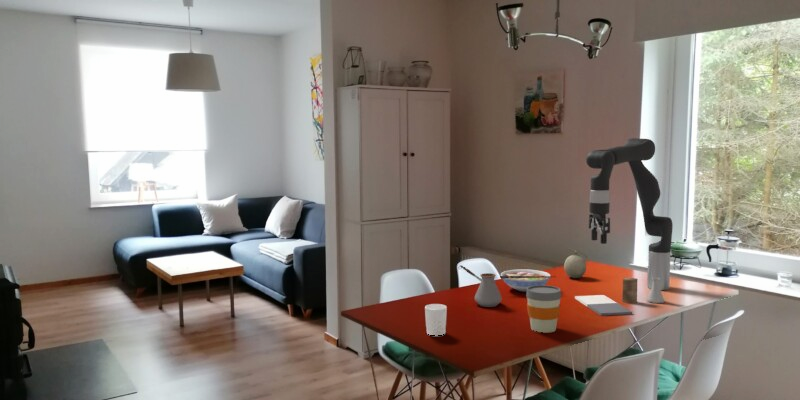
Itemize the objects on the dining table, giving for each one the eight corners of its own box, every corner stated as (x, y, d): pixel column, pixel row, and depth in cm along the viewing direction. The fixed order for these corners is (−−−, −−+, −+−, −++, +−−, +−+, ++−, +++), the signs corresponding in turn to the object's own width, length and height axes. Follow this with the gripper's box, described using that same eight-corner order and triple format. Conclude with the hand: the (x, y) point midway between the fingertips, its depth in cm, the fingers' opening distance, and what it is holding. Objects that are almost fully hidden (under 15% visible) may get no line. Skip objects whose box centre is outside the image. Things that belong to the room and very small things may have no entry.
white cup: (424, 330, 224) (423, 304, 223) (445, 329, 224) (444, 303, 223) (426, 337, 216) (426, 310, 215) (448, 336, 216) (448, 309, 215)
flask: (666, 304, 253) (667, 280, 252) (648, 303, 254) (648, 280, 253) (662, 299, 260) (663, 276, 259) (644, 298, 261) (645, 276, 260)
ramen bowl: (547, 283, 291) (547, 267, 290) (558, 296, 268) (558, 278, 267) (495, 284, 291) (495, 267, 291) (501, 296, 269) (501, 278, 268)
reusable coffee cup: (537, 321, 232) (537, 283, 230) (567, 328, 223) (567, 288, 222) (519, 329, 223) (519, 289, 221) (549, 336, 214) (550, 295, 213)
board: (574, 298, 263) (574, 296, 263) (603, 297, 265) (603, 294, 265) (600, 315, 238) (600, 313, 238) (632, 314, 239) (632, 311, 239)
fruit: (590, 280, 296) (591, 250, 295) (567, 280, 297) (567, 250, 295) (584, 275, 307) (584, 246, 305) (561, 275, 307) (561, 246, 305)
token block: (622, 302, 257) (622, 279, 256) (626, 300, 260) (627, 277, 259) (632, 303, 254) (633, 280, 253) (636, 301, 257) (637, 278, 256)
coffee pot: (507, 304, 257) (507, 269, 255) (490, 310, 249) (490, 274, 247) (468, 295, 272) (467, 262, 270) (451, 300, 264) (451, 267, 262)
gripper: (616, 202, 232) (616, 244, 234) (600, 199, 246) (600, 238, 248) (598, 203, 231) (597, 245, 233) (583, 199, 245) (582, 239, 247)
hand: (598, 241), depth 240 cm, fingers open, 8 cm apart
